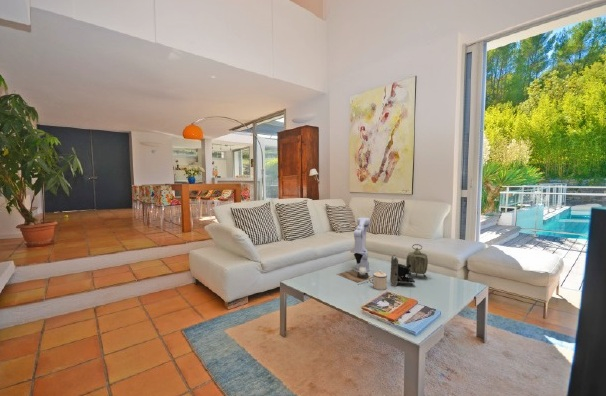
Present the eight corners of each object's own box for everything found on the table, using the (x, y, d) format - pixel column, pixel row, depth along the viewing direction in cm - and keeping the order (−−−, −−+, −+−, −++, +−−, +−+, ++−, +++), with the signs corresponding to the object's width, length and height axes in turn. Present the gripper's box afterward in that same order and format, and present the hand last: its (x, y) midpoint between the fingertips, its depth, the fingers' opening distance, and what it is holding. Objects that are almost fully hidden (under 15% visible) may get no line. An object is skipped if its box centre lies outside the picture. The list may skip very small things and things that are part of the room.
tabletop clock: (427, 276, 208) (428, 244, 207) (426, 280, 200) (427, 246, 199) (407, 273, 215) (407, 242, 213) (405, 277, 207) (406, 244, 205)
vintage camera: (415, 288, 187) (416, 259, 186) (391, 286, 190) (392, 257, 189) (412, 283, 197) (413, 256, 196) (389, 281, 200) (391, 254, 199)
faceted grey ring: (362, 274, 210) (362, 271, 210) (370, 277, 204) (370, 273, 204) (355, 276, 206) (355, 273, 206) (363, 279, 199) (363, 276, 199)
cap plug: (362, 275, 208) (362, 266, 208) (367, 277, 204) (367, 267, 204) (358, 276, 205) (358, 267, 205) (362, 278, 202) (362, 269, 201)
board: (352, 271, 221) (352, 269, 221) (374, 279, 204) (374, 277, 204) (336, 276, 211) (336, 274, 211) (357, 284, 193) (357, 282, 193)
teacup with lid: (386, 285, 192) (386, 269, 191) (387, 290, 183) (387, 273, 182) (368, 284, 195) (368, 267, 194) (368, 289, 186) (368, 272, 185)
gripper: (347, 244, 212) (347, 262, 213) (362, 247, 200) (362, 266, 201) (354, 243, 216) (354, 260, 217) (368, 246, 205) (368, 264, 205)
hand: (358, 263), depth 209 cm, fingers closed
